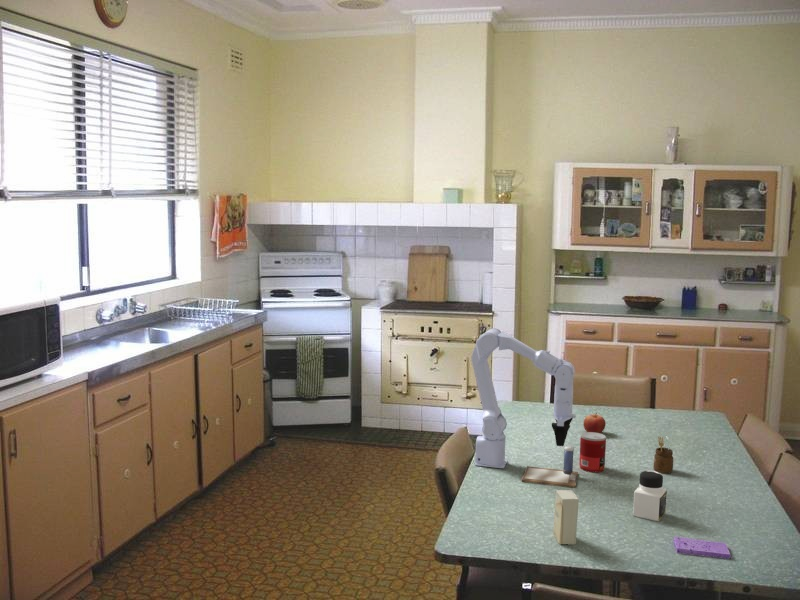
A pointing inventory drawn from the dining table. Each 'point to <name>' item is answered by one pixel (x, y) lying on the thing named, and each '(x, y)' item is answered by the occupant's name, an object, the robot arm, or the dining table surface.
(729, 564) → the dining table surface
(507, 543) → the dining table surface
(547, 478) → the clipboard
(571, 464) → the blue cylindrical bottle
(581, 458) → the canned food
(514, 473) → the dining table surface
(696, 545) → the sponges
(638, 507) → the medicine bottle
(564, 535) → the skincare box
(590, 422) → the apple
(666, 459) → the utensil holder
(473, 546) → the dining table surface
